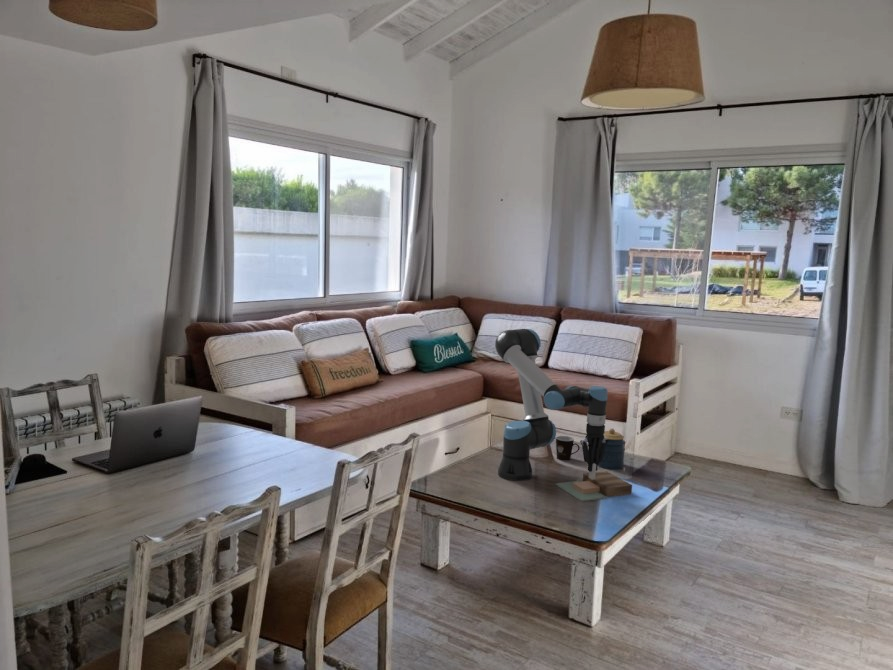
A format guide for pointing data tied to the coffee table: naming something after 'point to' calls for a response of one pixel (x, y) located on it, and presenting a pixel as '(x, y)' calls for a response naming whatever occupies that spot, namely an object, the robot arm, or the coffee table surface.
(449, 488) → the coffee table surface
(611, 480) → the block
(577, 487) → the terracotta tile
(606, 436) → the canister
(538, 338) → the robot arm
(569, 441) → the coffee mug
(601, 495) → the sage mat
